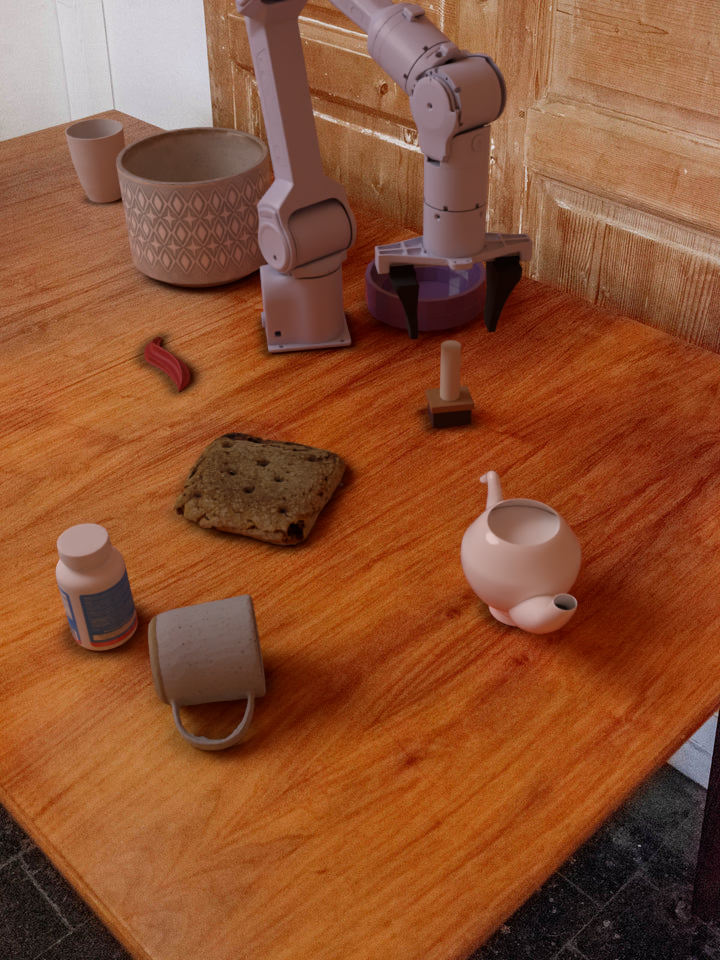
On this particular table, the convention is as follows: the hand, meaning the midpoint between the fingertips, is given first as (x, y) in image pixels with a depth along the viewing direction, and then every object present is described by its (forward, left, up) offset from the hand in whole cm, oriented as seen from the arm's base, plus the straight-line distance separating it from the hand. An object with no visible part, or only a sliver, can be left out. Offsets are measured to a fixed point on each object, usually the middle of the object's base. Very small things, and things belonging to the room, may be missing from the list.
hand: (451, 330), depth 107 cm
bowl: (+2, +24, -10) cm, 26 cm away
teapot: (0, -28, -11) cm, 30 cm away
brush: (0, 0, -10) cm, 10 cm away
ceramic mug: (-25, -34, -11) cm, 44 cm away
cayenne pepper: (-29, +16, -11) cm, 35 cm away
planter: (-24, +41, -11) cm, 49 cm away
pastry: (-20, -9, -11) cm, 24 cm away
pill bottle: (-34, -25, -11) cm, 44 cm away
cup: (-38, +65, -11) cm, 76 cm away
